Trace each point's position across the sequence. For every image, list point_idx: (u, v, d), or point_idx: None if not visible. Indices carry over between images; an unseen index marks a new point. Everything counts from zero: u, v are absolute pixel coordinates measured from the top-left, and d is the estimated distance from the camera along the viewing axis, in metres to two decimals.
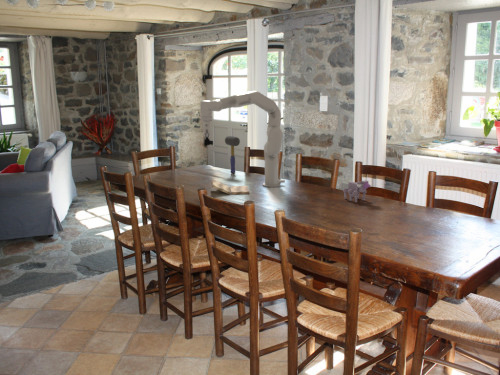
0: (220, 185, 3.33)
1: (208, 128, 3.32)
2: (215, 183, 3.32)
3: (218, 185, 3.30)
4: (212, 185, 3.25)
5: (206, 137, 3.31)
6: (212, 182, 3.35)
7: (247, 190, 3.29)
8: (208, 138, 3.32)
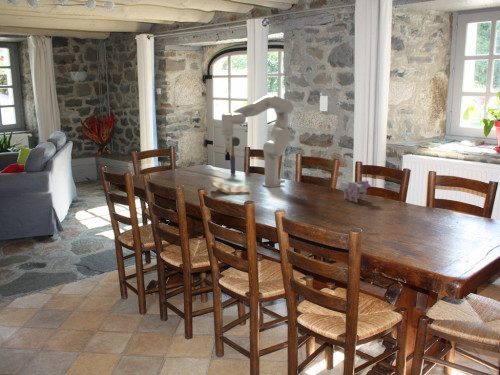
0: (220, 185, 3.33)
1: (229, 142, 3.22)
2: (215, 183, 3.32)
3: (218, 185, 3.30)
4: (212, 185, 3.25)
5: (227, 152, 3.26)
6: (212, 182, 3.35)
7: (247, 190, 3.29)
8: (229, 154, 3.27)
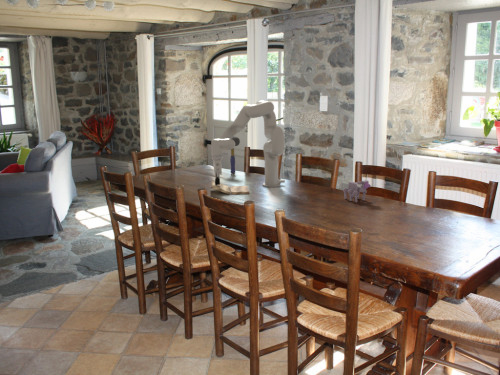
0: (220, 186, 3.33)
1: (219, 167, 3.25)
2: (214, 184, 3.32)
3: (218, 186, 3.30)
4: (211, 186, 3.25)
5: (217, 177, 3.29)
6: (211, 183, 3.35)
7: (247, 190, 3.29)
8: (218, 179, 3.30)
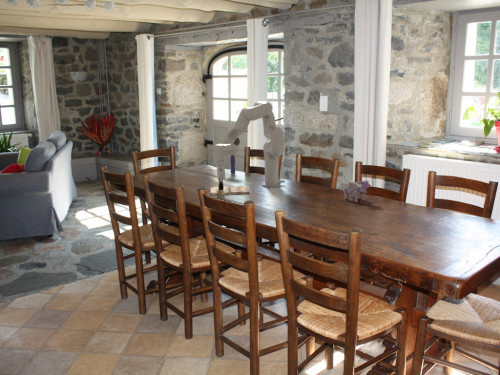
0: (218, 189, 3.33)
1: (222, 172, 3.26)
2: (213, 189, 3.33)
3: (216, 190, 3.31)
4: (210, 193, 3.26)
5: (220, 182, 3.30)
6: (210, 189, 3.36)
7: (247, 190, 3.29)
8: (222, 184, 3.31)
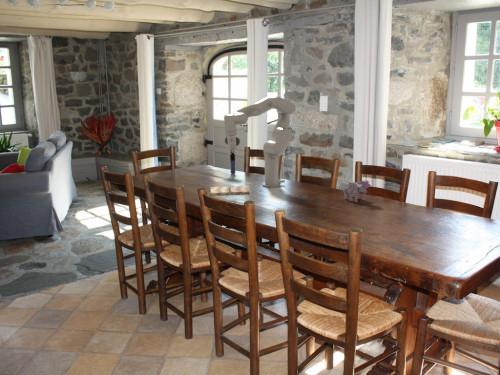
0: (218, 189, 3.33)
1: (233, 143, 3.24)
2: (213, 189, 3.33)
3: (216, 190, 3.31)
4: (210, 193, 3.26)
5: (231, 153, 3.28)
6: (210, 189, 3.36)
7: (247, 190, 3.29)
8: (234, 154, 3.29)
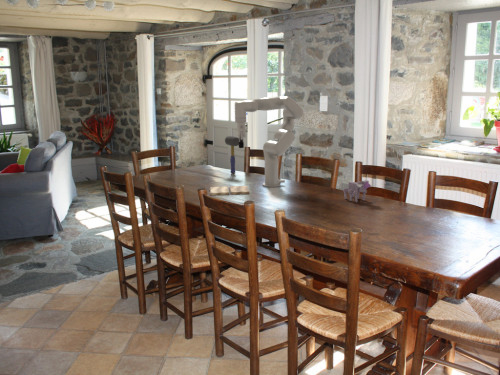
0: (218, 189, 3.33)
1: (243, 130, 3.23)
2: (213, 189, 3.33)
3: (216, 190, 3.31)
4: (210, 193, 3.26)
5: (240, 140, 3.27)
6: (210, 189, 3.36)
7: (247, 190, 3.29)
8: (242, 142, 3.28)
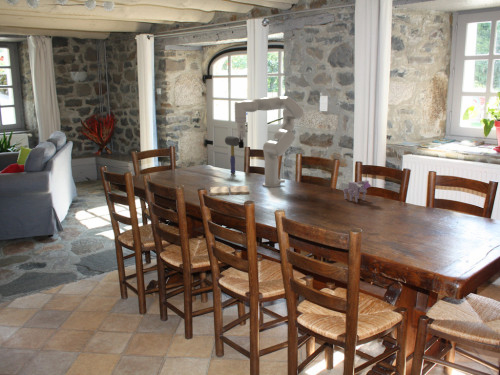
0: (218, 189, 3.33)
1: (243, 130, 3.23)
2: (213, 189, 3.33)
3: (216, 190, 3.31)
4: (210, 193, 3.26)
5: (240, 140, 3.27)
6: (210, 189, 3.36)
7: (247, 190, 3.29)
8: (242, 142, 3.28)
